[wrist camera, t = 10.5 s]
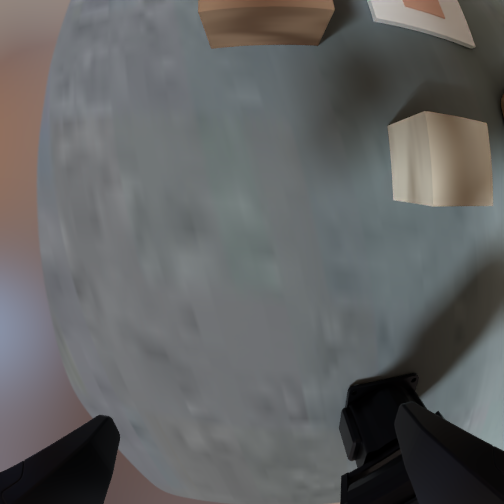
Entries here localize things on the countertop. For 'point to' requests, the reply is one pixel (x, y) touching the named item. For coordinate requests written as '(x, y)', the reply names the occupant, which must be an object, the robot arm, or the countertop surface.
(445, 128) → the ash cube
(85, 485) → the robot arm
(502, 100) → the block
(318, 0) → the walnut block
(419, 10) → the card
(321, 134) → the countertop surface
